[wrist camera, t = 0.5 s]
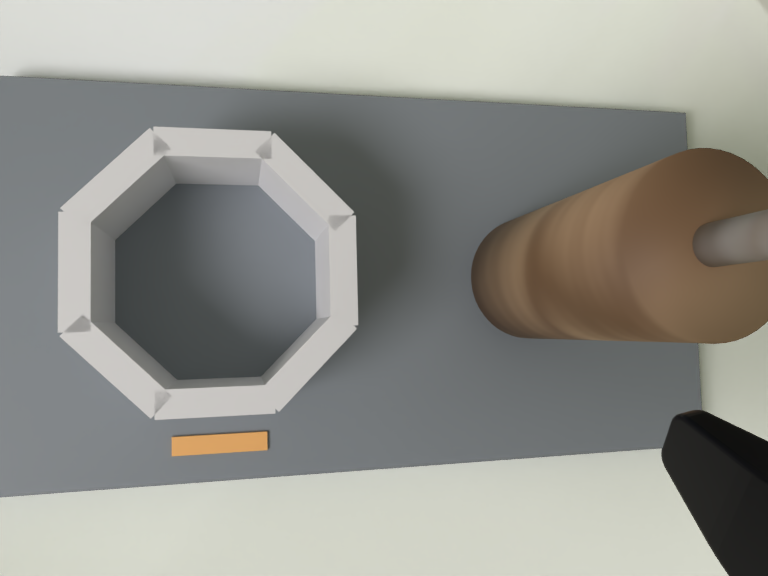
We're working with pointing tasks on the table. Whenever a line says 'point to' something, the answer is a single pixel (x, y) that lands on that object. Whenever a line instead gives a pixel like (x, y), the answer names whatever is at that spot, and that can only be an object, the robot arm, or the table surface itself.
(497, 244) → the brown tall cylinder
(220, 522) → the table surface
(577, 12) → the table surface
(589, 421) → the tool board
